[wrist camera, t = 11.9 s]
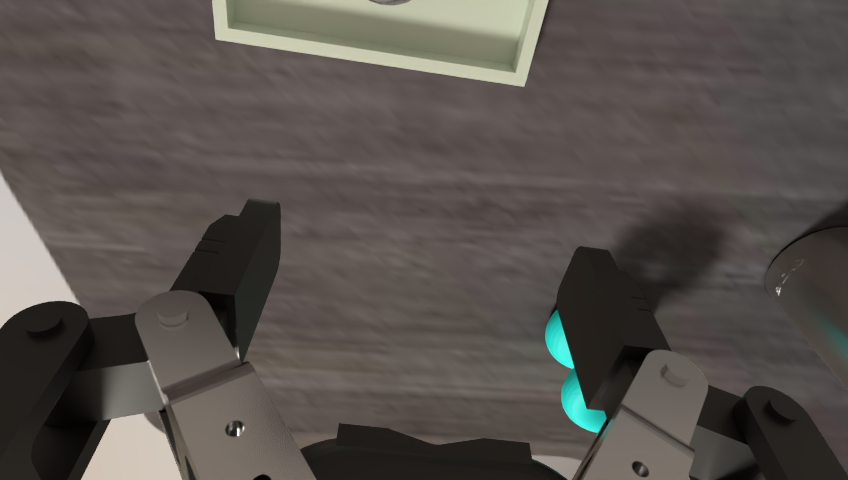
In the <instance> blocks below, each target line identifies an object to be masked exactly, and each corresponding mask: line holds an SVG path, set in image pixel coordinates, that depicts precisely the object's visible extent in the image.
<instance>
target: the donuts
mask: <svg viewBox="0 0 848 480" xmlns="http://www.w3.org/2000/svg"><path fill="white" fill-rule="evenodd" d="M545 340H546V344H547V347H548V349H549V351H550V353H551V354H552V356H553V357H554V358H555V359H556V360H557V361H558V362H560V363H561V364H563V365H565V366H567V367H569V368H571V369H572V370H571V372H570V373H569V374H568V376H567V377H566V379H565V381H564V383H563V387H562V391H561V400H562V405H563V408H564V410H565V412H566V413H567V415H568V416H569V418H570V419H571V420H572V421H573V422H575V423H576V424H577V425H579V426H580V427H582V428H585V429H587V430H589V431H593V432H596V433H598V432H599V430H600V428H601V426H602V425H603V423H604V421H605V420H606V415H605V412H604V411H599V410H590V409H586V405H585V402H584V398H583V395H582V392H581V388H580V385H579V382H578V378H577V375H576V371H575V368H574V365H573V361H572V358H571V354H570V351H569V348H568V344H567V341H566V337H565V334H564V331H563V327H562V324H561V321H560V317H559V314H558V310H556V311H555V312H554V313H553V315H552V316H551V318H550V319H549V321H548V324H547V326H546V331H545Z"/></svg>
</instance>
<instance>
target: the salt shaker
mask: <svg viewBox="0 0 848 480" xmlns="http://www.w3.org/2000/svg"><path fill="white" fill-rule="evenodd" d="M369 1H372V2H374V3H377V4H380V5H393V6H394V5H399V4H403V3H407V2H409V1H411V0H369Z"/></svg>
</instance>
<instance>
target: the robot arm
mask: <svg viewBox="0 0 848 480" xmlns="http://www.w3.org/2000/svg"><path fill="white" fill-rule="evenodd" d="M280 251H281V211H280V204H279V203H278V202H272V201H265V200H258V199H251V198H250V199H248V201H247V203H246V204H245V206H244V208H243V210H242V212H241V213H240V215H239V216H233V215H224V216H223V217H221V218H220V219H218V220H217V221H215V222H214V223H212V224H211V225H210V226H209V227H208V229H207V231H206V232H205V234H204V236H203V237H202V241H200V242H199V244H198V245H197V247H196V248H195V252H193V253H192V255H191V257H190V258H189V260H188V261H187V263H186V265H185V266H184V268H183V270H182V271H181V273H180V274H179V276H178V278H177V279H176V281H175V282H174V284H173V286H172V287H171V289H170V291H169V292H164V293H161V294H158V295H156V296H154V297H152V298H150V299H149V300H147V301H146V302H145V303H143V304H142V305H141V307H140V308H139V309H138V311H137V312H136V313H133V314H128V315H121V316H112V317H103V318H94V319H89V317H88V314H87V312H86V311H85V309H84V308H83V307H81V306H80V305H78V304H75V303H72V302H66V301H54V302H46V303H41V304H37V305H34V306H31V307H29V308H26V309H24V310H22V311H20V312H19V313H17V314H16V315H14V316H13V317H12V318H10V319H9V320H8V321H7V322H6V323H5V324H4V325H3V326H2V328H1V329H0V480H81V478H82V476H83V474H84V472H85V470H86V468H87V466H88V464H89V462H90V460H91V458H92V456H93V454H94V452H95V450H96V448H97V446H98V444H99V442H100V440H101V438H102V436H103V434H104V432H105V430H106V428H107V426H108V425H109V423H110V420H111V419H112V418H119V417H125V416H130V415H136V414H142V413H147V412H153V411H157V412H158V415H159V418H160V420H161V423H162V426H163V429H164V431H165V434H166V437H167V439H168V442H169V444H170V447H171V450H172V453H173V455H174V458H175V461H176V464H177V466H178V469H179V471H180V474H181V477H182V480H567V479H566V478H565V477H563V476H562V475H561V474H559V473H558V472H557V471H555V470H553V469H552V468H550V467H548V466H547V465H545V464H543V463H540V462H538V461H536V460H533V459H532V456H531V451H530V445H529V443H524V442H515V441H505V440H495V439H485V438H483V439H476V440H469V441H463V442H456V443H449V444H443V445H434V444H430V443H427V442H425V441H422V440H419V439H416V438H413V437H410V436H408V435H405V434H402V433H399V432H396V431H393V430H390V429H388V428H379V427H369V426H359V425H350V424H340V423H339V428H338V434H337V438H335V439H329V440H325V441H321V442H317V443H314V444H311V445H309V446H306V447H304V448H302V449H299V448H298V446H297V444H296V442H295V441H294V439H293V437H292V435H291V433H290V432H289V430H288V428H287V426H286V424H285V423H284V421H283V419H282V417H281V415H280V414H279V412H278V410H277V408H276V407H275V405H274V403H273V401H272V399H271V398H270V396H269V394H268V392H267V390H266V389H265V387H264V385H263V383H262V381H261V380H260V378H259V376H258V374H257V373H256V371H255V369H254V368H253V366H252V365H251V364H250V363H249V362H247V361H246V362H244V363H243V361H244V358H245V355H246V353H247V350H248V347H249V345H250V342H251V339H252V337H253V334H254V331H255V329H256V326H257V323H258V321H259V318H260V316H261V313H262V310H263V308H264V305H265V302H266V300H267V297H268V294H269V292H270V289H271V286H272V284H273V281H274V278H275V276H276V273H277V270H278V266H279V260H280ZM765 286H766V289H767V292H768V293H769V294H770V295H771V297H772V298H773V299H774V300H775V302H776V303H777V304H778V305H779V307H780V308H781V309H782V310H783V312H784V313H785V314H786V315H787V317H788V318H789V319H790V320H791V321H792V323H793V324H794V326H795V327H796V328H797V329H798V330H799V332H800V333H801V334H802V335H803V337H804V338H805V339H806V340H807V342H808V343H809V344H810V345H811V346H812V348H813V349H814V350H815V351H816V353H817V354H818V355H819V356H820V357H821V359H822V360H823V361H824V362H825V364H826V365H827V366H828V367H829V369H830V370H831V371H832V372H833V373H834V375H835V376H836V377H837V378H838V380H839V381H840V382H841V383H842V385H843V386H844V387H845V388H846V389H847V391H848V227H835V228H830V229H825V230H822V231H819V232H816V233H813V234H810V235H808V236H806V237H804V238H802V239H800V240H798V241H797V242H795V243H793V244H792V245H790V246H789V247H788V248H786V249H785V250H784V251H783V252H782V253H781V254H780V255H779V256H778V257H777V258H776V259H775V260H774V261H773V263H772V264H771V266H770V268H769V269H768V272H767V275H766V278H765ZM557 310H558V314H559V317H560V321H561V324H562V327H563V331H564V334H565V337H566V341H567V344H568V348H569V351H570V354H571V358H572V361H573V365H574V368H575V371H576V375H577V378H578V382H579V385H580V388H581V392H582V395H583V398H584V402H585V405H586V409H590V410H599V411H604V412H605V415H606V420H605V421H604V423H603V425H602V426H601V428H600V430H599V432H598V433H597V435H596V437H595V439H594V441H593V442H592V444H591V446H590V448H589V450H588V452H587V453H586V455H585V457H584V459H583V461H582V462H581V464H580V466H579V468H578V470H577V472H576V474H575V475H574V477H573V479H572V480H687V477H688V475H689V477H690V480H848V475H847V474H846V472H845V471H844V469H843V467H842V466H841V464H840V463H839V461H838V460H837V458H836V457H835V455H834V453H833V452H832V450H831V449H830V447H829V446H828V444H827V443H826V441H825V439H824V438H823V436H822V435H821V433H820V432H819V430H818V428H817V427H816V425H815V424H814V422H813V421H812V419H811V418H810V416H809V415H808V413H807V412H806V411H805V410H804V409H803V408H802V407H801V406H800V405H799V404H798V403H797V402H795V401H794V400H793V399H792V398H790V397H789V396H787V395H785V394H784V393H782V392H780V391H778V390H775V389H773V388H770V387H765V386H754V387H751V388H750V389H749V390H748V391H747V392H746V393H745V394H744V395H743V396H742V397H739V396H736V395H734V394H731V393H728V392H726V391H723V390H720V389H718V388H715V387H712V386H710V385H708V383H707V380H706V378H705V376H704V375H703V373H702V372H701V371H700V369H699V368H698V367H697V366H696V365H695V364H693V363H692V362H691V361H690V360H688V359H687V358H685V357H683V356H681V355H679V354H677V353H675V352H672V351H671V349H670V347H669V345H668V343H667V341H666V339H665V337H664V335H663V333H662V331H661V329H660V327H659V325H658V323H657V321H656V319H655V317H654V315H653V314H652V313H650V311H651V310H650V308H649V306H648V304H647V302H646V301H645V298H644V296H643V294H642V292H641V290H640V288H639V286H638V284H637V283H636V282H635V281H634V280H633V279H632V278H631V277H630V276H629V275H628V274H627V273H626V272H625V271H623V270H618V268H617V266H616V264H615V262H614V260H613V258H612V256H611V254H610V252H609V251H608V250H604V249H597V248H590V247H583V246H580V247H578V248H577V249H576V251H575V253H574V255H573V257H572V259H571V262H570V264H569V266H568V269H567V271H566V273H565V275H564V278H563V280H562V282H561V285H560V287H559V290H558V294H557Z"/></svg>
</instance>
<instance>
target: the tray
mask: <svg viewBox="0 0 848 480" xmlns="http://www.w3.org/2000/svg"><path fill="white" fill-rule="evenodd" d="M212 3H213V15H214V26H215V37H216V40H223V41H229V42H236V43H242V44H249V45H255V46H262V47H268V48H275V49H281V50H288V51H294V52H301V53H308V54H314V55H321V56H327V57H334V58H340V59H347V60H353V61H360V62H366V63H373V64H379V65H386V66H392V67H399V68H405V69H412V70H418V71H425V72H431V73H438V74H445V75H451V76H458V77H464V78H471V79H477V80H484V81H490V82H497V83H503V84H510V85H516V86H523V87H524V86H525V82H526V79H527V75H528V72H529V68H530V65H531V61H532V57H533V54H534V50H535V47H536V43H537V40H538V36H539V32H540V29H541V25H542V22H543V18H544V15H545V11H546V8H547V4H548V0H411V1H409V2H407V3H403V4H399V5H394V6H393V5H380V4H377V3H374V2H372V1H369V0H212Z"/></svg>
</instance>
